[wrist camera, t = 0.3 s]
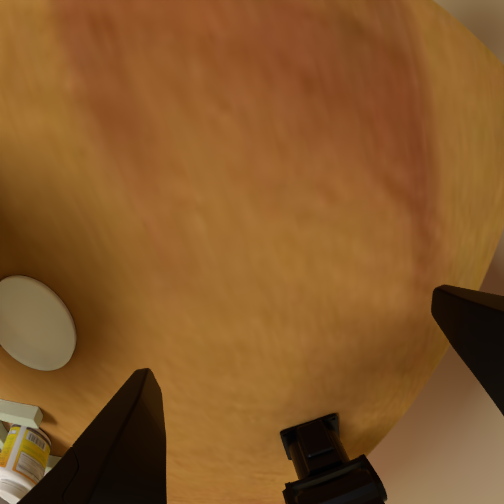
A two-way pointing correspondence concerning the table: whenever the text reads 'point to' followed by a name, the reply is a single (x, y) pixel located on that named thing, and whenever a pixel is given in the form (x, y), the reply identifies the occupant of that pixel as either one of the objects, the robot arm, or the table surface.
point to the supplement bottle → (22, 461)
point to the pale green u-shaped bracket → (22, 422)
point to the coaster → (35, 324)
